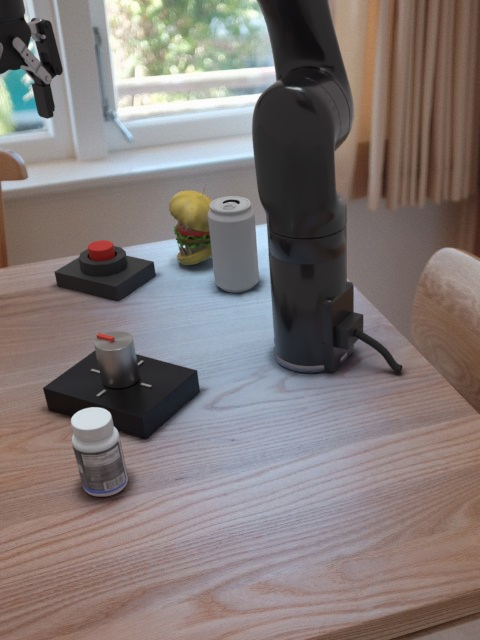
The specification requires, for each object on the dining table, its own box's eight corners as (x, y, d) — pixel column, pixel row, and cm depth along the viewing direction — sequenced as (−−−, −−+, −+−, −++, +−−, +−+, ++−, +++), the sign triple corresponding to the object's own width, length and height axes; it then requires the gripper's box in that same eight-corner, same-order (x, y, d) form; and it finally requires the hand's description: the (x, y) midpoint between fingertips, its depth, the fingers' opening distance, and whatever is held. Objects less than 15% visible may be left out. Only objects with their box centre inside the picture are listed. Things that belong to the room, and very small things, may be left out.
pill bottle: (86, 471, 97) (70, 405, 92) (130, 469, 97) (117, 403, 92) (80, 499, 93) (63, 432, 88) (126, 496, 94) (112, 429, 88)
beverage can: (262, 275, 133) (257, 194, 125) (255, 295, 128) (249, 212, 121) (220, 274, 134) (212, 193, 126) (211, 294, 129) (202, 211, 121)
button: (120, 254, 131) (118, 242, 130) (104, 264, 128) (102, 252, 127) (100, 249, 132) (98, 238, 131) (84, 259, 129) (82, 247, 128)
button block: (156, 275, 134) (152, 249, 131) (118, 300, 127) (113, 274, 125) (96, 261, 137) (91, 236, 135) (57, 285, 131) (51, 259, 129)
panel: (200, 391, 109) (197, 368, 107) (146, 439, 101) (141, 416, 99) (106, 365, 114) (102, 343, 112) (48, 409, 106) (42, 386, 104)
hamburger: (186, 250, 140) (176, 172, 133) (230, 253, 139) (223, 175, 131) (169, 271, 134) (157, 191, 127) (215, 275, 133) (207, 194, 126)
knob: (147, 373, 106) (140, 333, 103) (124, 392, 103) (116, 351, 100) (117, 365, 108) (109, 325, 105) (93, 383, 105) (85, 342, 102)
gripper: (-59, -17, 92) (-16, 148, 102) (55, -38, 100) (84, 116, 111) (-99, -24, 95) (-54, 135, 106) (14, -43, 104) (46, 106, 114)
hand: (17, 125), depth 108 cm, fingers open, 8 cm apart
